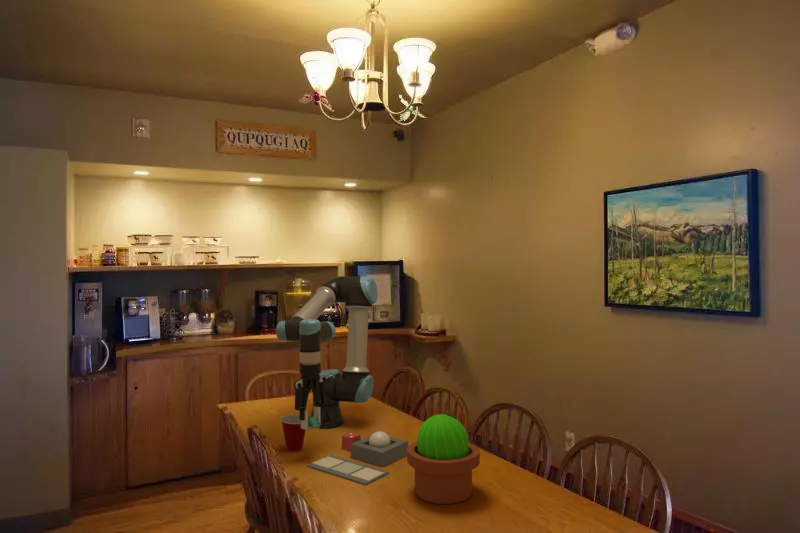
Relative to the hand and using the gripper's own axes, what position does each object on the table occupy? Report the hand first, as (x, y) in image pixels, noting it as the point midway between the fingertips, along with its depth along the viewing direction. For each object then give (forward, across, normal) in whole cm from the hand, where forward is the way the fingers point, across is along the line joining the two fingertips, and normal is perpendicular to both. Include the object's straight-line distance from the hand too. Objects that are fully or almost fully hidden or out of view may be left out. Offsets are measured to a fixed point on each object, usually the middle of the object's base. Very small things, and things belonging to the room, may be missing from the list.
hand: (310, 426), depth 204 cm
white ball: (+11, -17, +18) cm, 27 cm away
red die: (+12, -17, +4) cm, 21 cm away
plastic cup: (+12, -4, -13) cm, 18 cm away
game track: (+12, 0, +18) cm, 21 cm away
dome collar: (+12, -17, +18) cm, 28 cm away
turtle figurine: (+1, 0, +2) cm, 2 cm away
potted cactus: (+12, -5, +54) cm, 56 cm away
